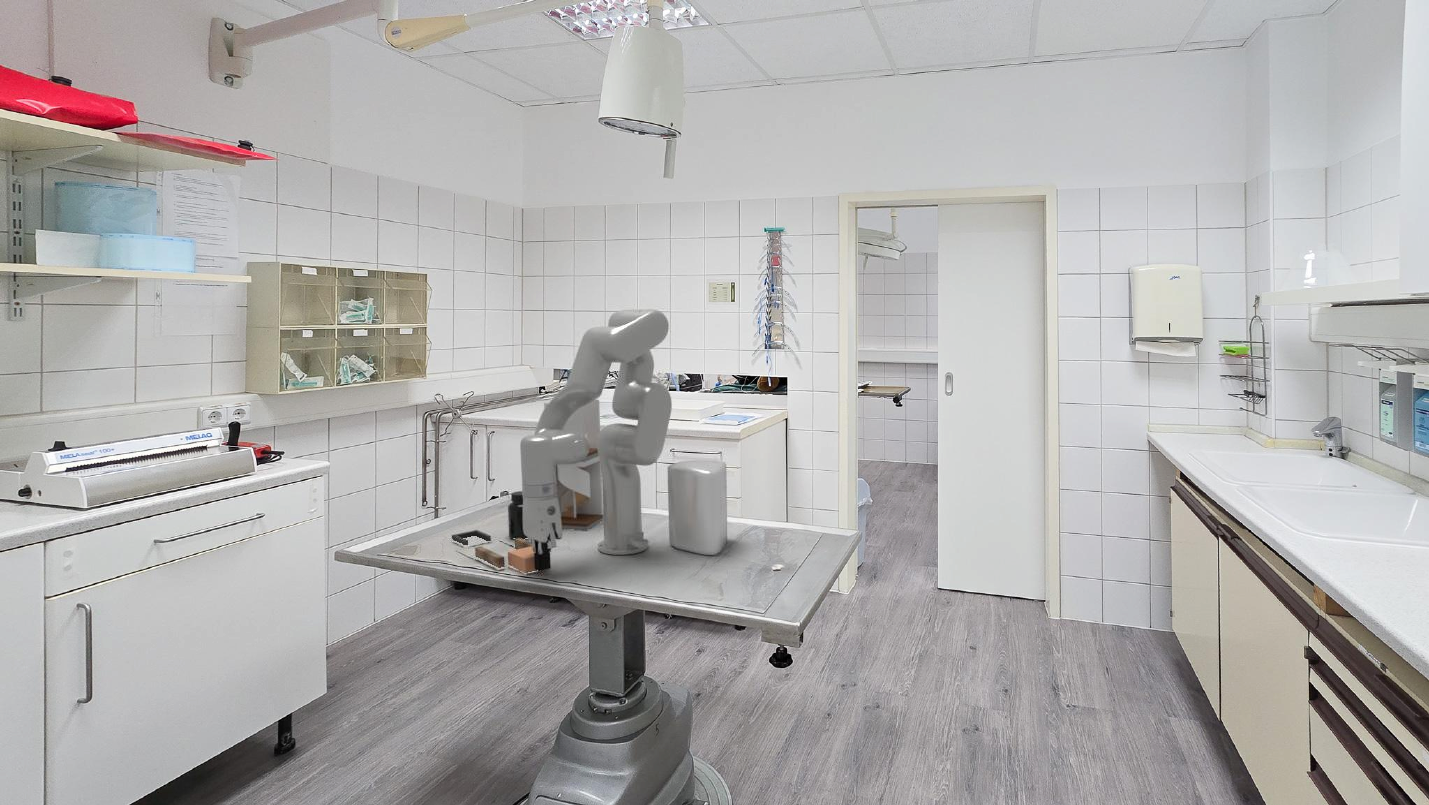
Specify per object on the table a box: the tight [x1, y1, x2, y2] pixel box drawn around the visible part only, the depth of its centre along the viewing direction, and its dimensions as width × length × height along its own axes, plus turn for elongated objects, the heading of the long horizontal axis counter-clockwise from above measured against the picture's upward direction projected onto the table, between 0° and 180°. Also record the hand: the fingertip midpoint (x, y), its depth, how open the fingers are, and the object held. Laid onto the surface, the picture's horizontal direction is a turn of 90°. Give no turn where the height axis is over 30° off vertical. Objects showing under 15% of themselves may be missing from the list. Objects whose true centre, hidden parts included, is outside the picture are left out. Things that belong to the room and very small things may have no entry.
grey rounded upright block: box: [667, 459, 728, 556], centre depth 198 cm, size 15×14×22 cm
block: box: [507, 546, 537, 573], centre depth 184 cm, size 8×6×4 cm
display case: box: [543, 399, 604, 532], centre depth 220 cm, size 11×11×35 cm
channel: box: [474, 538, 532, 568], centre depth 191 cm, size 12×12×3 cm
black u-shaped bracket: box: [451, 529, 492, 545], centre depth 207 cm, size 8×7×2 cm
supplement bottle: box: [507, 490, 527, 539], centre depth 210 cm, size 7×7×12 cm
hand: (542, 569), depth 180 cm, fingers closed
